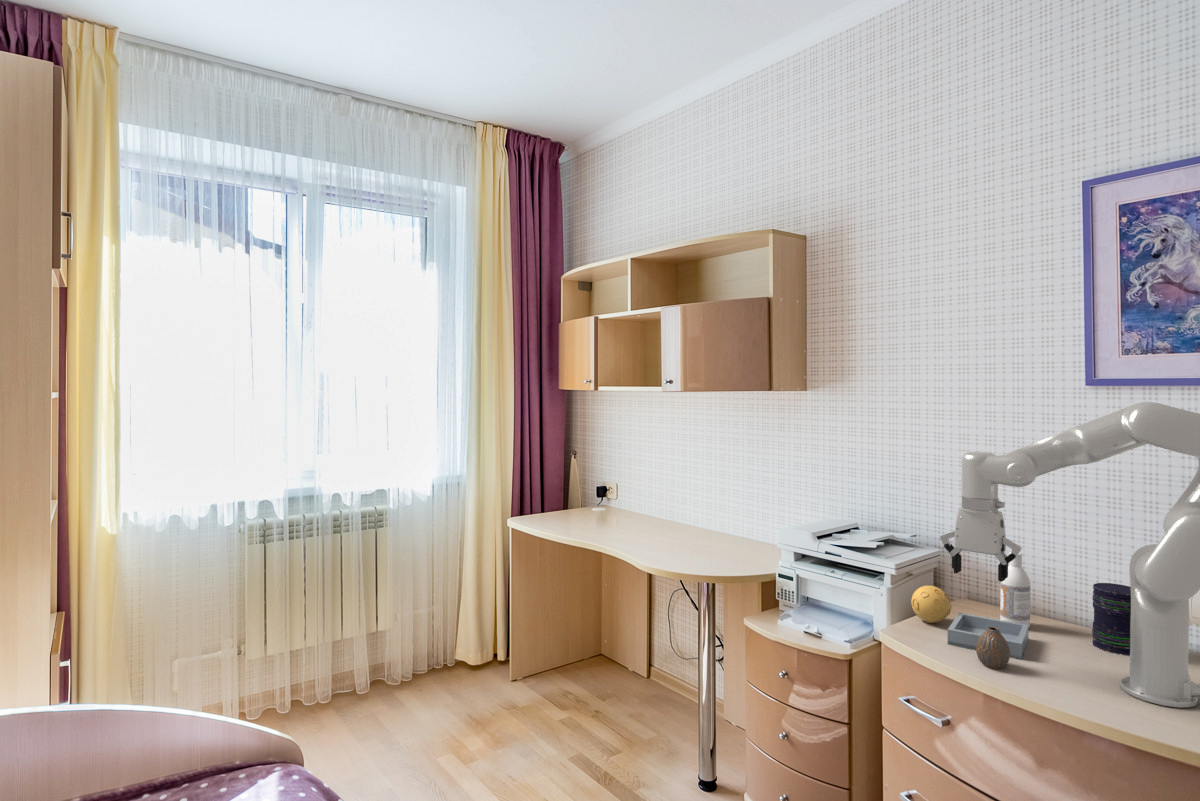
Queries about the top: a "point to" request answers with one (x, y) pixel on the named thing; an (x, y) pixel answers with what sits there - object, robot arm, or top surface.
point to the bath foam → (1015, 594)
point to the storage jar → (1112, 617)
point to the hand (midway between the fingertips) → (979, 576)
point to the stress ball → (931, 604)
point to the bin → (972, 627)
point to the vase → (993, 649)
